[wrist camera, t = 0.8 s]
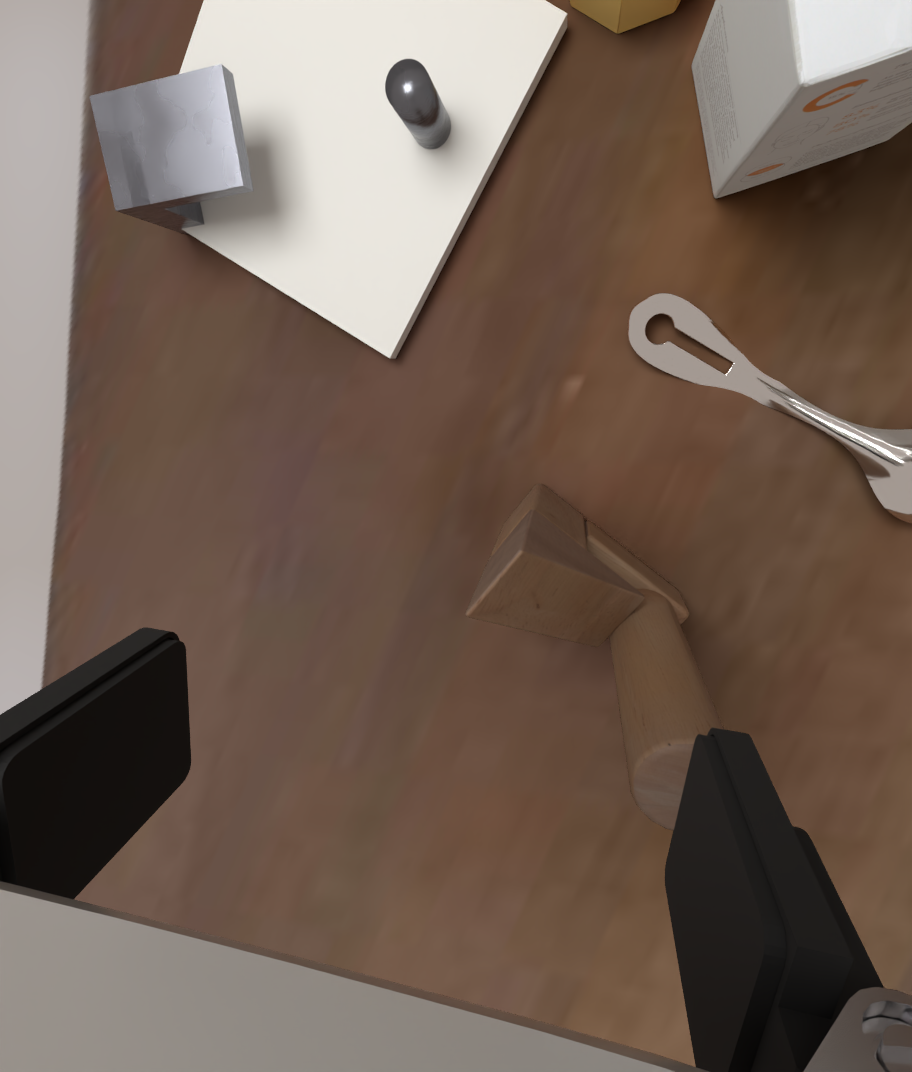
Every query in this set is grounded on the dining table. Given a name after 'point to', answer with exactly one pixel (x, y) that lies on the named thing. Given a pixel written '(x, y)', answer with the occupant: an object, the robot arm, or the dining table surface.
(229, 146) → the block
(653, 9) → the link
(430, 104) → the pin
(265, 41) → the board
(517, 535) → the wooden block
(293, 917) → the dining table surface
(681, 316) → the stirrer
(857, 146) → the small box
